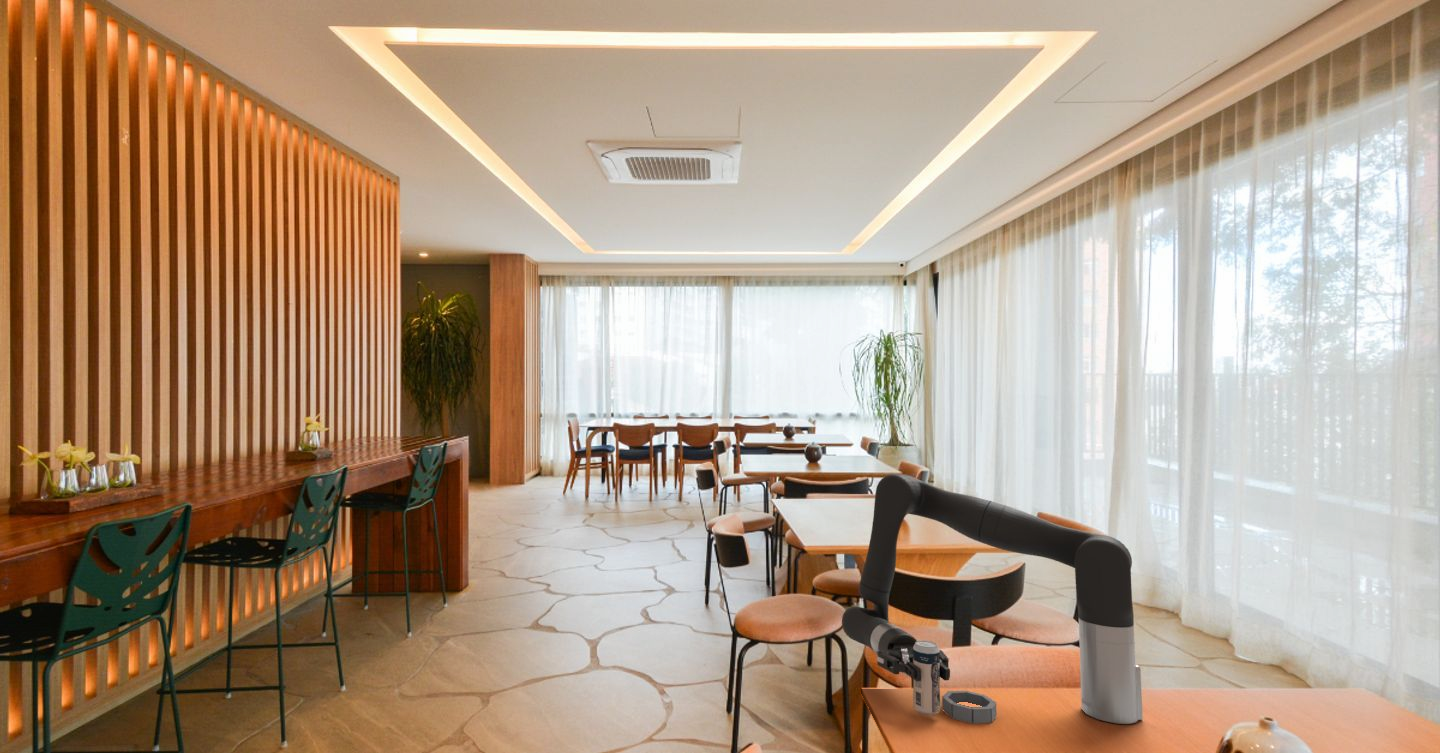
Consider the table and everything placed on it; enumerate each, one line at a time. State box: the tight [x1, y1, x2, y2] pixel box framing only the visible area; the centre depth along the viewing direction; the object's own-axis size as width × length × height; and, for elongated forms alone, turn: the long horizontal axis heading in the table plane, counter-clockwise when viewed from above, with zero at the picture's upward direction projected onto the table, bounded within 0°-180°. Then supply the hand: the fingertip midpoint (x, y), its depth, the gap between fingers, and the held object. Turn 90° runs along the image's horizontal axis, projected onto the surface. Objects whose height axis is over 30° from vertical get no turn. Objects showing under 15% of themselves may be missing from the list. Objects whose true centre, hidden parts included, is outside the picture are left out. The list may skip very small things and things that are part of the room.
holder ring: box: [941, 690, 998, 725], centre depth 123 cm, size 9×9×2 cm
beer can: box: [912, 640, 941, 716], centre depth 121 cm, size 5×5×12 cm
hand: (933, 675), depth 119 cm, fingers open, 5 cm apart
